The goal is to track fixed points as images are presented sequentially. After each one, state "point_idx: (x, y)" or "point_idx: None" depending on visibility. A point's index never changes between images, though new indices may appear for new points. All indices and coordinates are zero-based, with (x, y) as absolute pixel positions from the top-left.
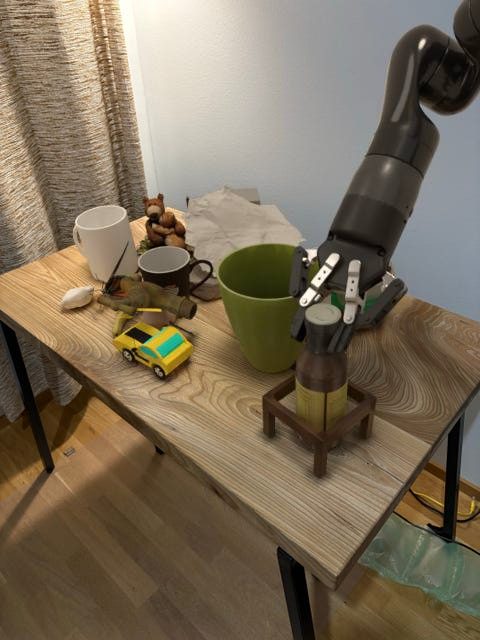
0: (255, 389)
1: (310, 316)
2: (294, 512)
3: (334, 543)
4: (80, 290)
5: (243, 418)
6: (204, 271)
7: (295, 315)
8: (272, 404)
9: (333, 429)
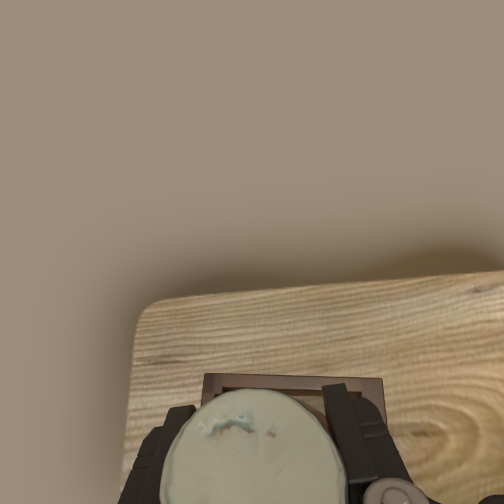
0: (488, 487)
1: (277, 412)
2: (222, 322)
3: (156, 326)
4: None
5: (423, 398)
6: None
7: (393, 447)
8: (346, 377)
9: None
